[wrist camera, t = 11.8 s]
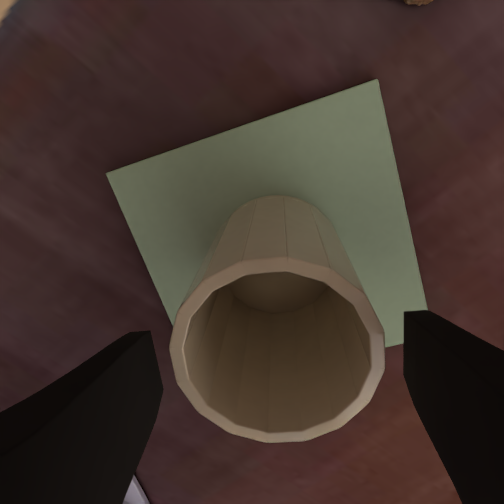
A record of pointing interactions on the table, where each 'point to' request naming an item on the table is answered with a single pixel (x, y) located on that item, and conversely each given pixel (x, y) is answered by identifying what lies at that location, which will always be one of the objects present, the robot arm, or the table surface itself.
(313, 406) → the cup
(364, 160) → the mat
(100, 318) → the table surface
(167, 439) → the table surface
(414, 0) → the decorative disc
